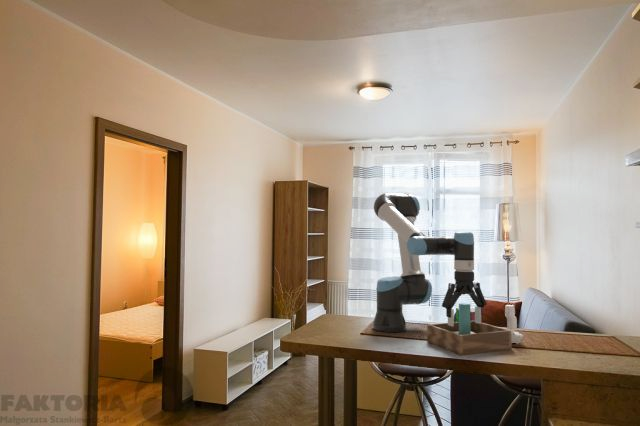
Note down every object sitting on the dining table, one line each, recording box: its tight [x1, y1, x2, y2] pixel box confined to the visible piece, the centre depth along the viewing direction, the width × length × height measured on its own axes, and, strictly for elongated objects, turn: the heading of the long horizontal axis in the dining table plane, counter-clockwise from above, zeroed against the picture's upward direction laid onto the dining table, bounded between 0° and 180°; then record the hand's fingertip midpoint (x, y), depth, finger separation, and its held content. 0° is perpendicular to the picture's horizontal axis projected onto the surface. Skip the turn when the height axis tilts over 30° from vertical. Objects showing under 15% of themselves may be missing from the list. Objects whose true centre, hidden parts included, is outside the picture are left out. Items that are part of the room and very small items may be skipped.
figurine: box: [504, 304, 524, 345], centre depth 173 cm, size 7×9×15 cm
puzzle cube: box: [455, 307, 483, 323], centre depth 190 cm, size 10×10×10 cm
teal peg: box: [458, 302, 471, 335], centre depth 170 cm, size 4×4×15 cm
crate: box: [426, 321, 513, 356], centre depth 168 cm, size 20×24×7 cm
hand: (464, 324), depth 170 cm, fingers open, 13 cm apart
